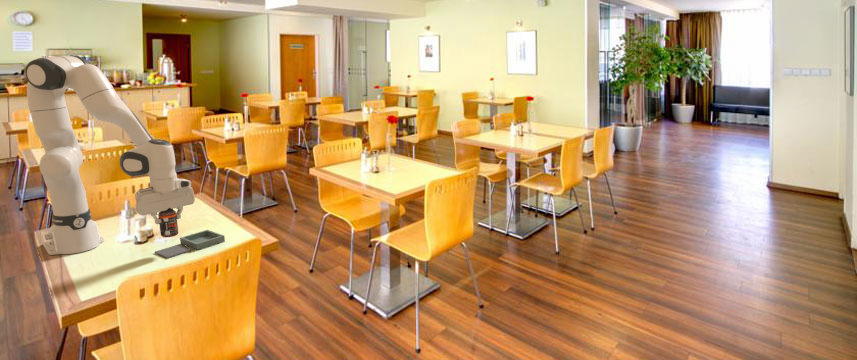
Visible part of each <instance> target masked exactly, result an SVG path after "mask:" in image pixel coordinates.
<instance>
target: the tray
mask: <svg viewBox="0 0 857 360" xmlns="http://www.w3.org/2000/svg"><path fill="white" fill-rule="evenodd" d="M225 239H226V238H225V235H223V234H221V233H218V232H215V231H213V230H209V229H206V230H202V231H199V232H195V233H191V234H189V235H185V236H180V237H179V240H180V245H181V246H182V245H183V246H184V247H186V248H189V249H191V250H192V249H193V250H195V251H200V250H203V249H207V248H209V247H212V246H216V245H219V244H221V243H224V242H225V241H226V240H225Z"/></svg>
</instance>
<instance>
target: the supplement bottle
mask: <svg viewBox="0 0 857 360" xmlns="http://www.w3.org/2000/svg"><path fill="white" fill-rule="evenodd" d="M176 213H177V211H175V209H171V208H168V209H167V210H165V211H161V212H157V218H159V219H161V223H160V224H158V225H159V230H160V231H159V233H160V236H161V237H162V238H173V237H175V236H178V235H179V226H178V219H177V216H176Z"/></svg>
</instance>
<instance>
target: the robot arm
mask: <svg viewBox="0 0 857 360" xmlns="http://www.w3.org/2000/svg"><path fill="white" fill-rule="evenodd" d="M24 73H25V74H24V75H25V78H26V80H27V83H26V97H27V105H28V109H29V113H30V115H31V116H30V117H31V121H32V124H33V127H34V131H35V134H36V135H37V137H38V139H39V141H40V143H41V144H42V147H43V148H44V154H43V155H42V156H41V158H40V160H39V172H40V173H41V174H42V178H43V181H44V184H45V185H46V188H47V191H48V194H49V198H50V203H51V209H52V215H51V216H52V217H51V220H52V225H51V226H50V228H49V229H48V231H47V233H45V234H44V239H45V240H46V241H44V242H42V245H43V248H44V249H45V251H46V253H47V254H48V255H49V256H53V255H54V256H55V255H72V254H79V253H83V252H87V251H89V250H92V249H95V248H97V247H98V246H99V245H100V244H101V243H103V242H105V238H104V237H102V236H100V233H99V229H98V223H97V222H96V221H94V220H93V219H92V212H91V210H90V208H89V204H88V199H87V191H86V189H85V187H84V185H83V181H82V178H81V175H80V168H81V166H82V165H83V162H84V154H83V152H82V149H81V146H80V144H79V141H78V138H77V136H76V134H75V131H74V128H73V125H72V121H71V117H70V114H69V110H68V105H67V102H66V96H65V92H66V91H67V89H72V90H73V91H74V93H76V96H77V98H78V99H79V101H80V102H81V104H82V105H83V108H84V109H85V110H86V111H87V113H88V114H89V115H90V116H91V117H92V118H94V119H96V120H99V121H101V122H107V123H110V124H113V125H116V126H118V127H119V128H121V129H122V130H124V132H125V133H126V135H127V137H129V139H130V140H131V142H132V143H133V144H134V145H135V147H134V148H132V149H128V150H126V151H124V152H123V153H122V154H121V155H120V158H119V167H120V169H121V170H122V172H123V173H124V174H126V175H127V176H130V177H140V176H144V175H148V176H149V184H150V186H149V187H146V188H140V189H138V190H137V191H136V192H135V194H134V198H135V210H136V214H138V215H140V216H148V215H150V216H151V217H152V218H153V219H154V224H155V225H159V224H160V223H161V219H159V217H158V213H159V212H161V211H165V210H167V209H168V208H171V209H173V210H175V209H177V211H176V216H177V220H179V219H181V214H182V212H183V210H184V208H183V207H186V206H191V205H194V203H195V199H196V197H195V192H194V189H193V187H192V182H191V180H189V179H186V178H182V177H178V173H177V172H176V165H177V163H176V157H175V155H176V154H175V150H174V147H173V145H172V143H171V142H169V141H168V140H166V139H159V138H158V139H157V138H155V139H154V138H153V137H152V136H151V134H150V133H149V131H148V130H147V128H146V127H145V126H144V125H143V123H142V122H141V121H140V119H139V117H138V116H137V115H136V114H135V112H134V111H132V109H130V107H129V106H127V104H125V102H124V101H123V100H122V98H120V96H119V94H118V93H117V91H116V90H115V87H114V86H113V85H112V83H111V82H110V80H109V79H108V78H107V76H106V75H105V73H104V72H103V71H102V70H101V69H100V68H99V67H98V66H96V65H94V64H91V63H90V62H89V60H88V59H86V58H84V57H83V56H78V55H75V54H73V55H72V54H71V55H53V56H47V57H39V58H36V59H33V60H31V61H29V62H28V63H27V64H26V65H25V71H24Z"/></svg>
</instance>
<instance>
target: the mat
mask: <svg viewBox="0 0 857 360" xmlns="http://www.w3.org/2000/svg"><path fill="white" fill-rule="evenodd" d="M190 252H192V248H189V247H187V246H184V245H183V246H182V244H175V245H171V246H168V247H165V248H162V249H158V250H155V251H154V254H156V255H158V256H161V257H163V258H165V259H167V260H169V259H171V258H173V257H178V256H180V255H183V254H186V253H187V254H188V253H190Z"/></svg>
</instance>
